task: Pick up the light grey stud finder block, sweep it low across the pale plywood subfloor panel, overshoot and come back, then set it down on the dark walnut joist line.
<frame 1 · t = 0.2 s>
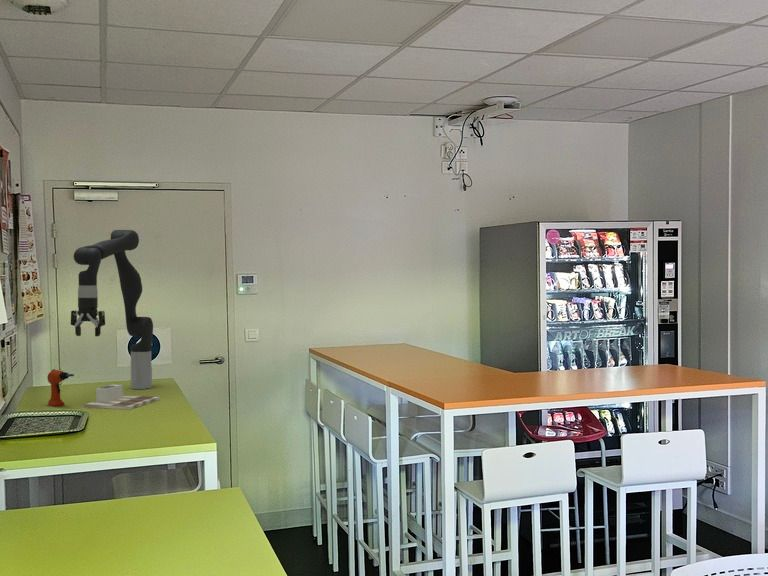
hand: (87, 336, 317), 28 cm above the table, fingers open, 8 cm apart
toy drill: (61, 406, 311), on the table
subfloor panel: (122, 403, 319), on the table
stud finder: (109, 399, 320), point 1 cm above the table, touching subfloor panel
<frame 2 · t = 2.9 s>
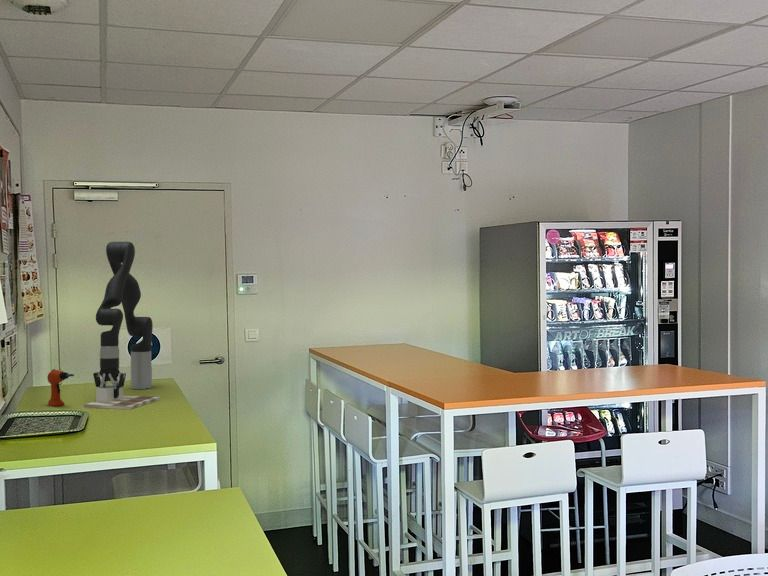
hand: (109, 397, 320), 2 cm above the table, fingers closed on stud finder, 5 cm apart
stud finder: (109, 399, 320), point 1 cm above the table, touching gripper, subfloor panel
everything else where it was.
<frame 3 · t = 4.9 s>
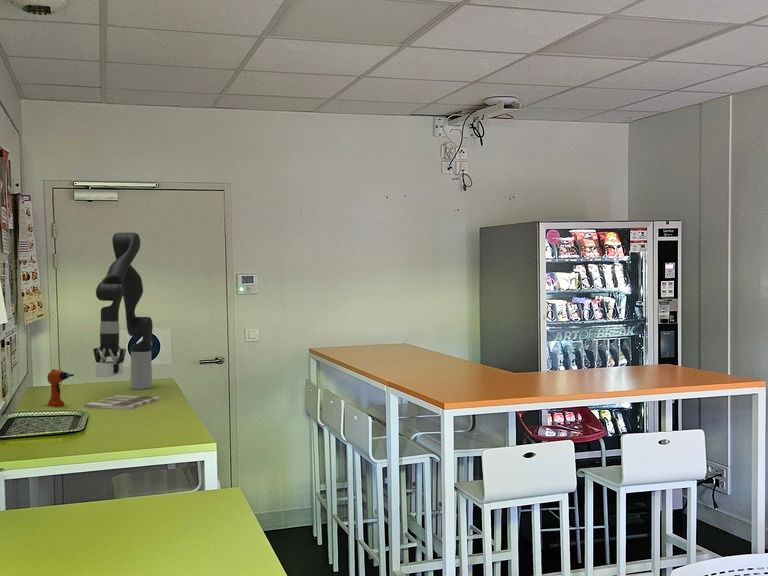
hand: (109, 373, 320), 12 cm above the table, fingers closed on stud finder, 5 cm apart
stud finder: (109, 375, 320), point 11 cm above the table, touching gripper
everything else where it was.
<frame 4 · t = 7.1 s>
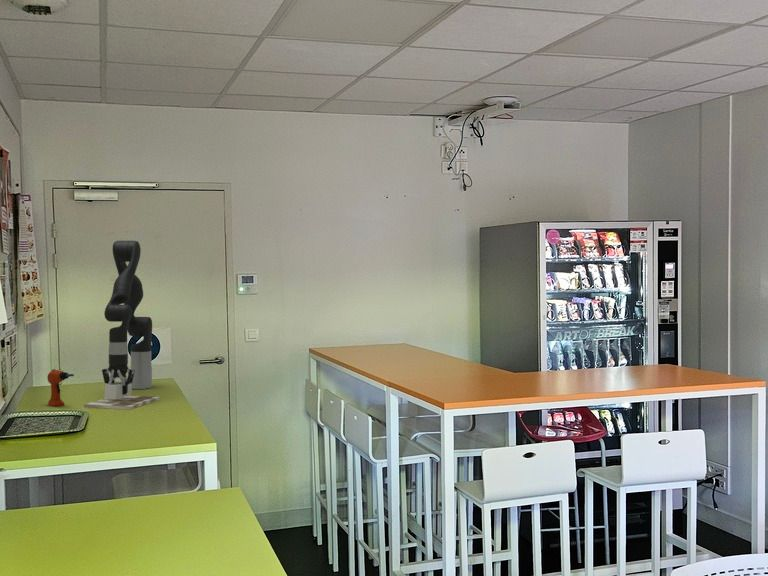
hand: (118, 393, 319), 4 cm above the table, fingers closed on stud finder, 5 cm apart
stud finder: (118, 396, 319), point 3 cm above the table, touching gripper
everything else where it was.
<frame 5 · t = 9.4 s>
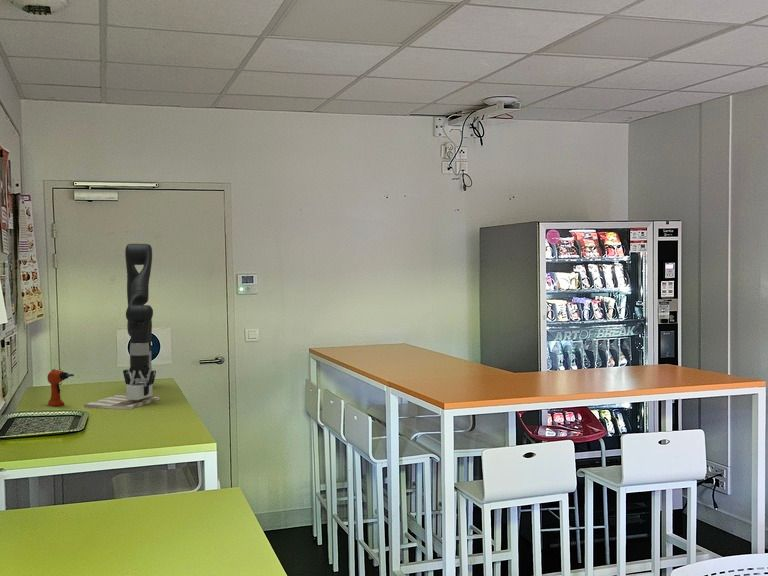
hand: (139, 394, 317), 4 cm above the table, fingers closed on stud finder, 5 cm apart
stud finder: (139, 397, 317), point 3 cm above the table, touching gripper
everything else where it was.
when the fingers open (3 cm above the table, at t = 11.3 s): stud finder stays where it is, resting on subfloor panel.
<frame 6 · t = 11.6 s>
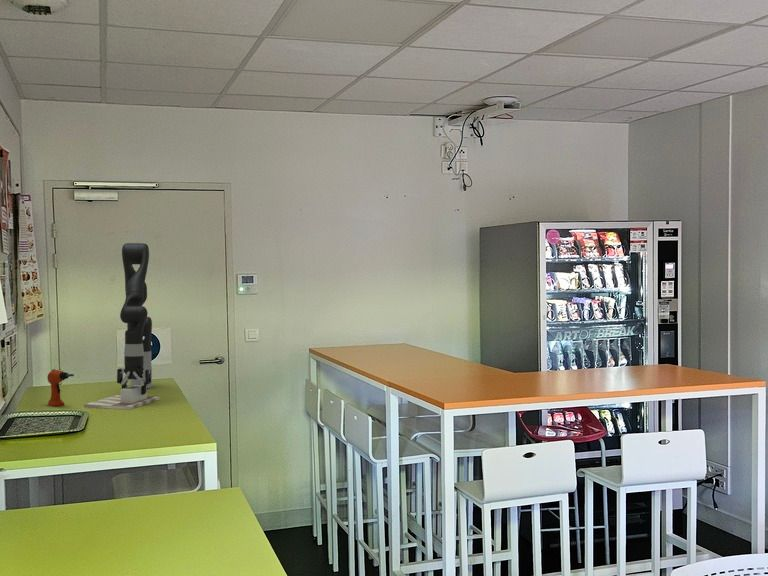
hand: (134, 394, 318), 4 cm above the table, fingers open, 8 cm apart
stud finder: (134, 400, 318), point 1 cm above the table, touching subfloor panel
everything else where it was.
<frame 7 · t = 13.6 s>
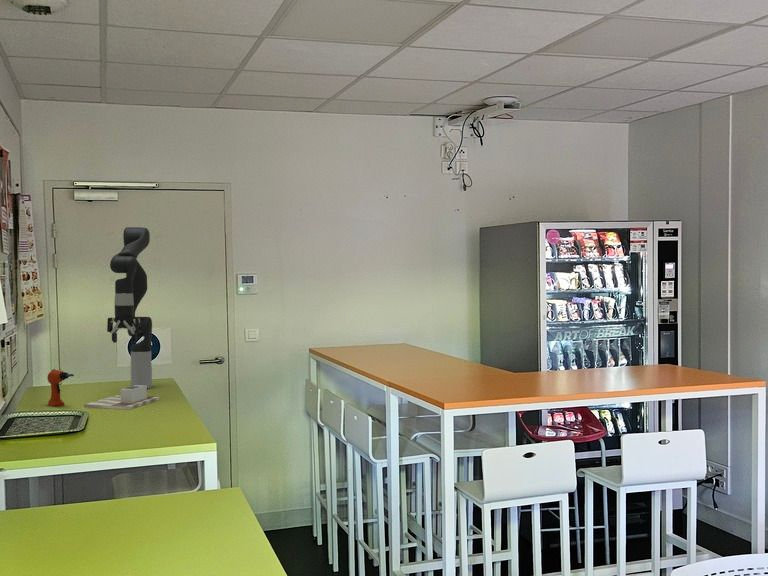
hand: (124, 342, 324), 25 cm above the table, fingers open, 8 cm apart
nothing on the table moved.
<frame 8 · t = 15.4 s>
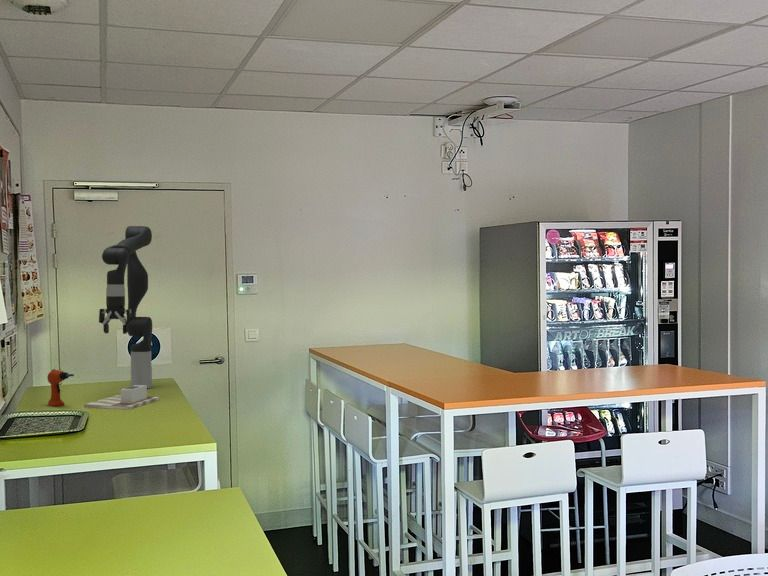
hand: (115, 333, 328), 28 cm above the table, fingers open, 8 cm apart
nothing on the table moved.
at the end: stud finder inside the target area (0.0 cm from its centre), point 1.3 cm above the table; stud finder tilted 0°; the gripper is holding nothing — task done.
